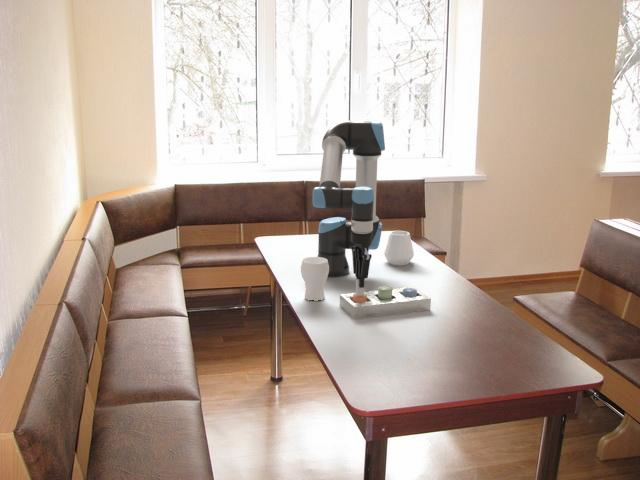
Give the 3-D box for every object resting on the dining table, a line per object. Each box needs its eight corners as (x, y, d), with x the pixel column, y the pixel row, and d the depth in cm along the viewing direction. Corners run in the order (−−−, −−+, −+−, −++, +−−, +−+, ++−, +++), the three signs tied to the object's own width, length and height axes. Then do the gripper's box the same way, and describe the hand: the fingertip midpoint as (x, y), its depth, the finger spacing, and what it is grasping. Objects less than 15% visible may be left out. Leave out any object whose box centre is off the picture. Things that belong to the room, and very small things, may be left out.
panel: (339, 305, 245) (339, 294, 244) (412, 297, 255) (413, 286, 254) (354, 319, 232) (354, 307, 231) (430, 310, 242) (430, 298, 241)
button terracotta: (350, 307, 242) (350, 294, 241) (363, 305, 244) (363, 292, 242) (355, 311, 237) (356, 298, 236) (369, 310, 239) (369, 297, 238)
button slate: (399, 301, 248) (400, 288, 247) (412, 300, 250) (413, 287, 249) (406, 306, 244) (406, 293, 242) (418, 304, 245) (419, 291, 244)
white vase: (418, 261, 304) (419, 231, 300) (405, 268, 293) (407, 237, 289) (391, 256, 311) (393, 227, 307) (378, 263, 300) (379, 233, 296)
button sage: (375, 300, 245) (375, 287, 243) (388, 298, 246) (388, 285, 245) (381, 304, 240) (381, 291, 239) (394, 303, 242) (395, 290, 240)
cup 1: (325, 303, 247) (326, 265, 244) (297, 301, 249) (298, 263, 246) (330, 294, 257) (331, 257, 254) (304, 292, 259) (304, 255, 256)
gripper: (345, 227, 238) (343, 290, 244) (359, 236, 226) (357, 302, 232) (364, 226, 240) (362, 288, 246) (379, 234, 228) (376, 299, 234)
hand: (359, 295), depth 239 cm, fingers closed
